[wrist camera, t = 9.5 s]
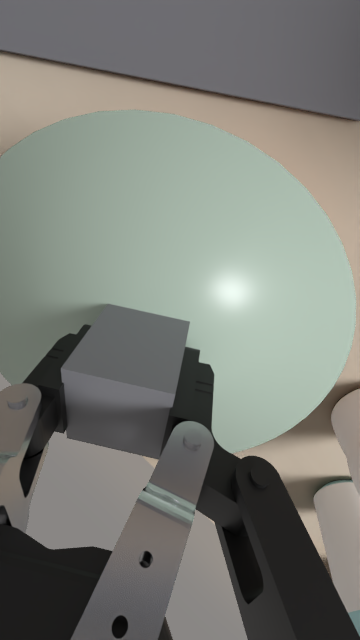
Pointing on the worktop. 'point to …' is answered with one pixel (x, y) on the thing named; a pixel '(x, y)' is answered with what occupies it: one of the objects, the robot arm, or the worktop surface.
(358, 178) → the worktop surface
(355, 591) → the can
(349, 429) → the water bottle
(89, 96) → the worktop surface
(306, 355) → the lid
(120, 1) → the mat
